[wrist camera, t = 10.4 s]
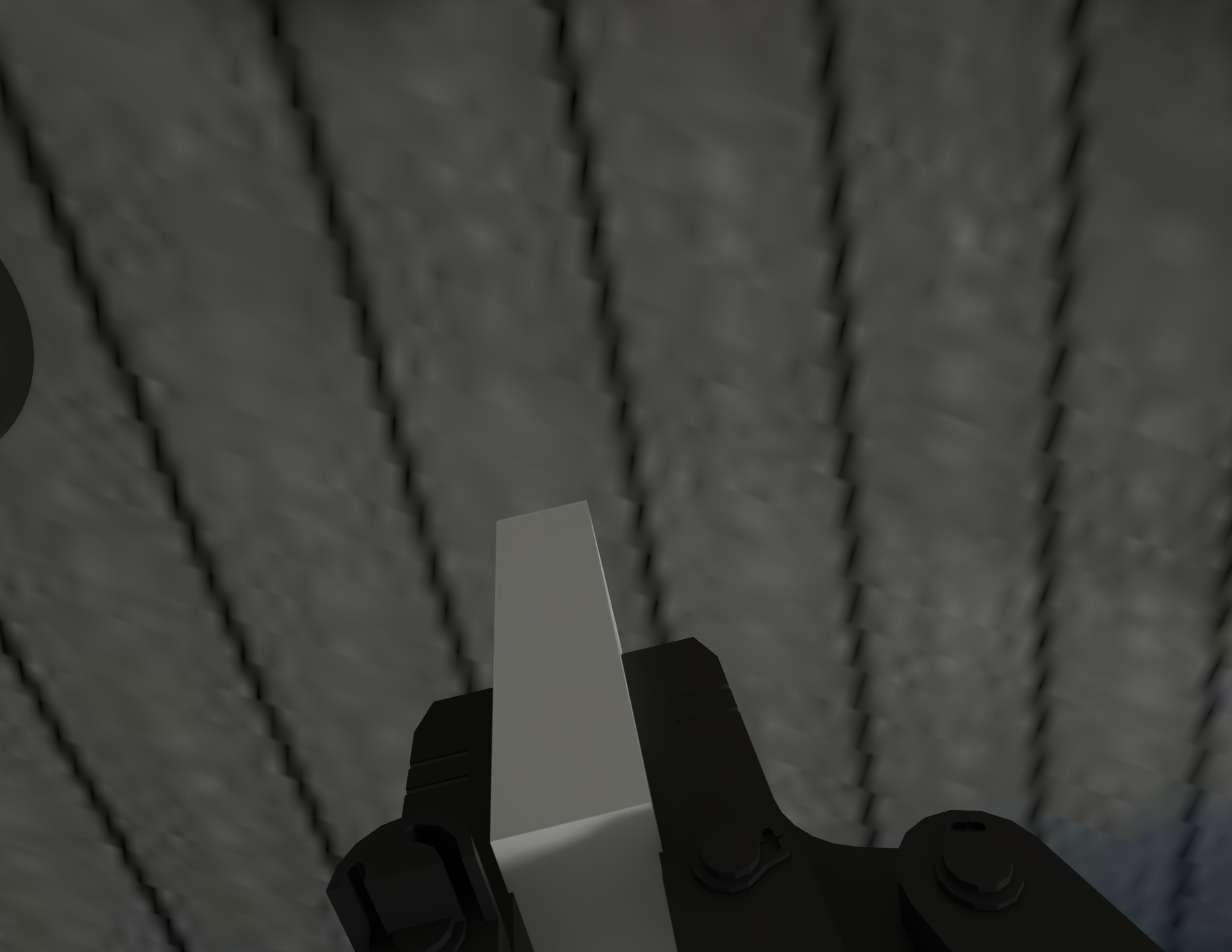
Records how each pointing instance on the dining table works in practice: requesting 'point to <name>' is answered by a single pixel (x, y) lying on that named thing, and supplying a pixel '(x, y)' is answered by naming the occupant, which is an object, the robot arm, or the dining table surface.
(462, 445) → the dining table surface
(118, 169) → the dining table surface
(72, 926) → the dining table surface
